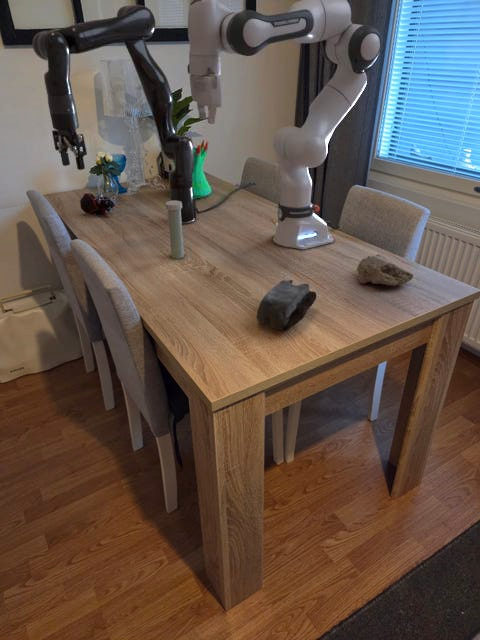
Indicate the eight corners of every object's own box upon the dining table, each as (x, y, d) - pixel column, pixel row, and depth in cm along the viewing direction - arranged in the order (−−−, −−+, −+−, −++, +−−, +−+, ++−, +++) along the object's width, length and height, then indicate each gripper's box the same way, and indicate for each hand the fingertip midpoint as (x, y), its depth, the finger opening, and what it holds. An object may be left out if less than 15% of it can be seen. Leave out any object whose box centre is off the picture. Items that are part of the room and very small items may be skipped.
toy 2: (167, 190, 223) (163, 137, 210) (207, 188, 227) (205, 135, 214) (172, 202, 206) (167, 145, 193) (214, 199, 210) (213, 143, 197)
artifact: (374, 296, 130) (415, 290, 135) (381, 274, 126) (423, 268, 131) (341, 267, 144) (380, 262, 149) (346, 246, 140) (385, 242, 145)
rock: (291, 341, 110) (294, 313, 105) (251, 329, 114) (251, 302, 110) (317, 308, 123) (320, 283, 119) (280, 299, 128) (281, 274, 124)
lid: (179, 204, 148) (179, 199, 147) (183, 209, 144) (183, 204, 143) (164, 206, 146) (164, 201, 145) (167, 211, 142) (167, 206, 141)
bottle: (182, 253, 156) (178, 201, 147) (185, 257, 153) (181, 205, 143) (170, 254, 155) (165, 203, 145) (173, 259, 152) (168, 206, 142)
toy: (107, 186, 182) (78, 185, 188) (99, 205, 180) (70, 204, 185) (122, 203, 193) (95, 201, 198) (115, 222, 190) (87, 220, 196)
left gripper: (87, 112, 131) (96, 168, 139) (61, 108, 138) (72, 162, 147) (64, 114, 126) (75, 173, 134) (39, 110, 134) (51, 166, 142)
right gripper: (227, 69, 117) (227, 125, 124) (206, 66, 133) (207, 116, 141) (204, 69, 115) (206, 126, 123) (185, 66, 132) (188, 117, 139)
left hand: (73, 167), depth 141 cm, fingers open, 8 cm apart
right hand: (206, 121), depth 132 cm, fingers open, 8 cm apart
